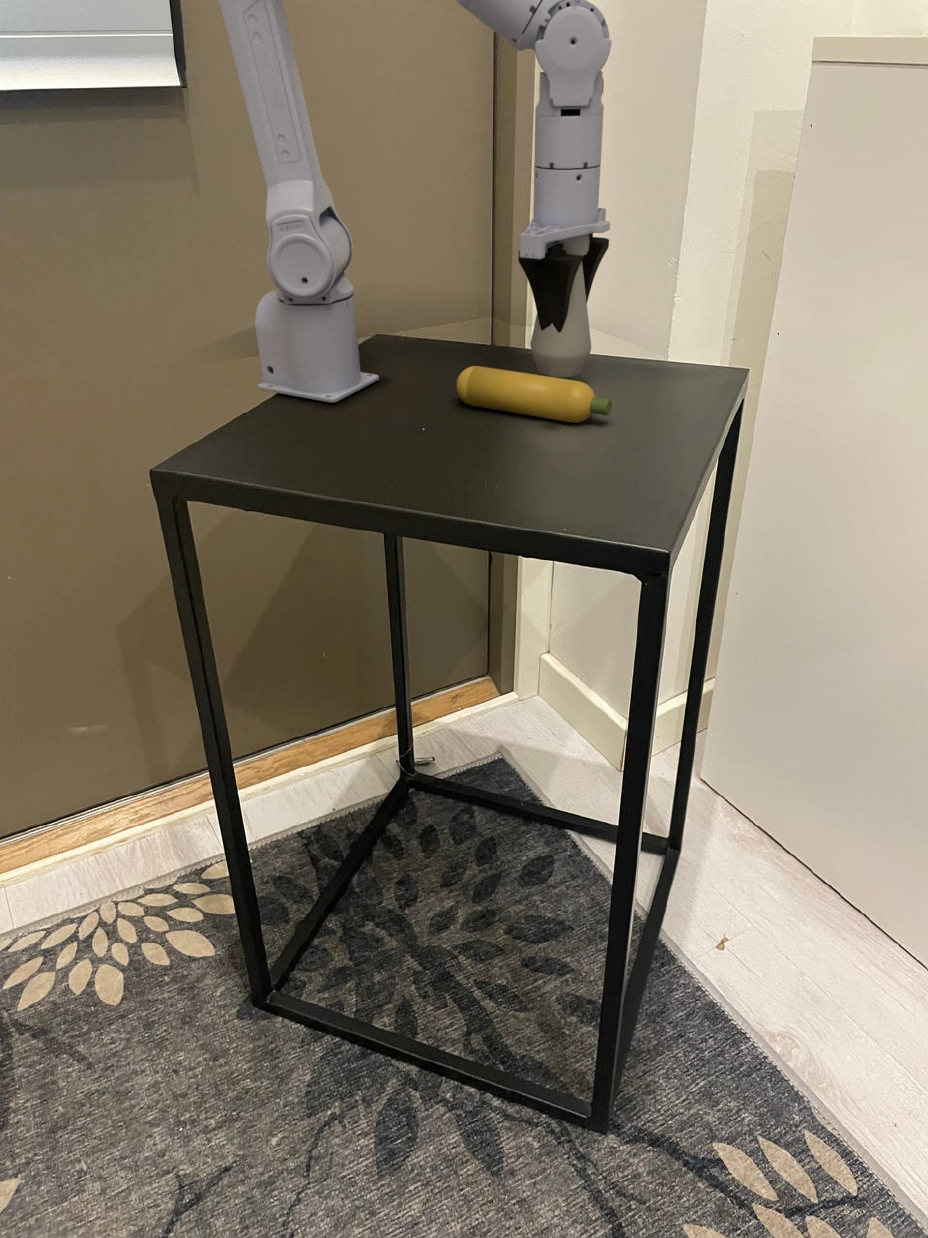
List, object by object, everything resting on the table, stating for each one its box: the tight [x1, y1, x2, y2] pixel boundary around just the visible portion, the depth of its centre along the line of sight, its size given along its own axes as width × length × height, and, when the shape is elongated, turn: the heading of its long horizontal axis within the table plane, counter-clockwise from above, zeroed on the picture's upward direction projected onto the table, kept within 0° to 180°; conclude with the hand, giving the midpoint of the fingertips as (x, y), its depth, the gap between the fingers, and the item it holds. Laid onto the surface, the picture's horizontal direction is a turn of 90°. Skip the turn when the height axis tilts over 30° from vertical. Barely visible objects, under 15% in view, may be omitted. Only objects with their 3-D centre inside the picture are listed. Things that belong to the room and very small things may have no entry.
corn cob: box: [455, 365, 613, 424], centre depth 83 cm, size 15×4×4 cm, turn 61°
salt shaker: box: [529, 234, 592, 378], centre depth 86 cm, size 6×6×13 cm
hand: (561, 324), depth 87 cm, fingers closed on salt shaker, 4 cm apart
